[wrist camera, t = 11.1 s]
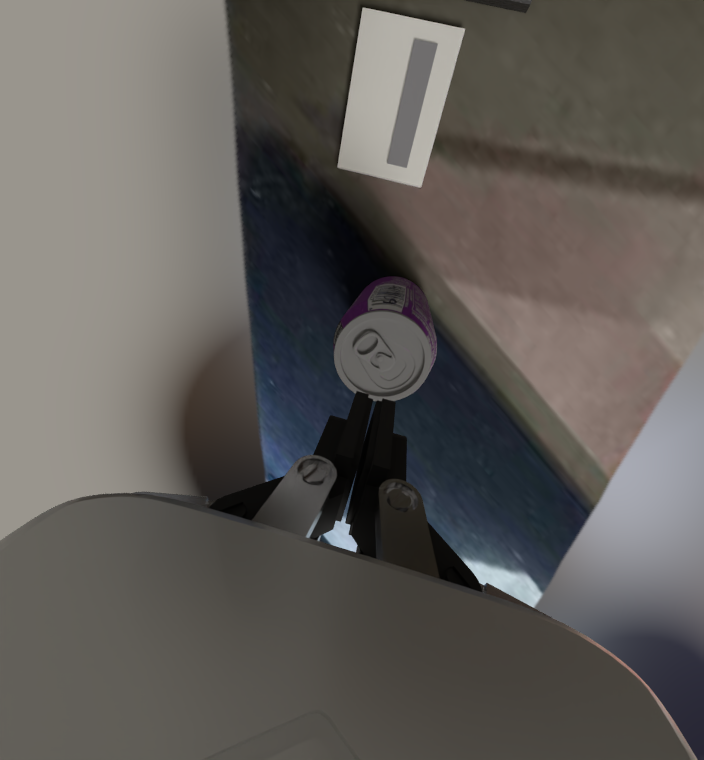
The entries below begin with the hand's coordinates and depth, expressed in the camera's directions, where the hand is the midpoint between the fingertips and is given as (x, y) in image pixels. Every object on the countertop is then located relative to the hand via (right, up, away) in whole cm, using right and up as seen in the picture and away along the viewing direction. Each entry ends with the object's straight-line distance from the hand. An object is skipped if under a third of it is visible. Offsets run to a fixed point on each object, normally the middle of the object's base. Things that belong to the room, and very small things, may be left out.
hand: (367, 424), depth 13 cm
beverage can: (+3, +9, +17) cm, 19 cm away
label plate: (+3, +22, +10) cm, 25 cm away
